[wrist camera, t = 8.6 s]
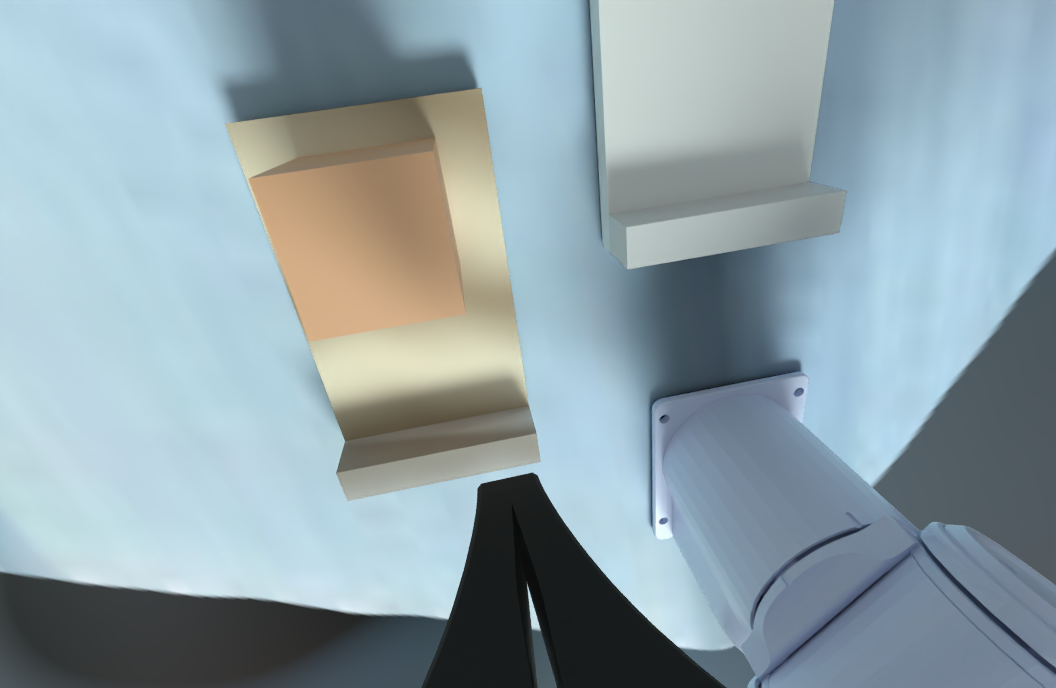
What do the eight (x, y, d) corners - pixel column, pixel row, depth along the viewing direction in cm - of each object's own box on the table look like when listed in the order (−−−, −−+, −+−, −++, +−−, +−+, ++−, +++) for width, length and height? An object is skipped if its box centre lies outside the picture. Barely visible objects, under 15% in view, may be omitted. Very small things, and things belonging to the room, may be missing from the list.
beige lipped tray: (529, 419, 23) (540, 461, 21) (358, 453, 23) (347, 500, 20) (479, 88, 17) (486, 87, 14) (237, 122, 16) (196, 127, 13)
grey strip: (788, 215, 20) (839, 232, 18) (602, 246, 20) (627, 269, 17) (848, -275, 14) (943, -363, 11) (576, -252, 13) (609, -338, 11)
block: (461, 266, 18) (465, 314, 14) (338, 287, 18) (309, 341, 14) (435, 137, 16) (433, 150, 12) (297, 157, 16) (248, 178, 12)
